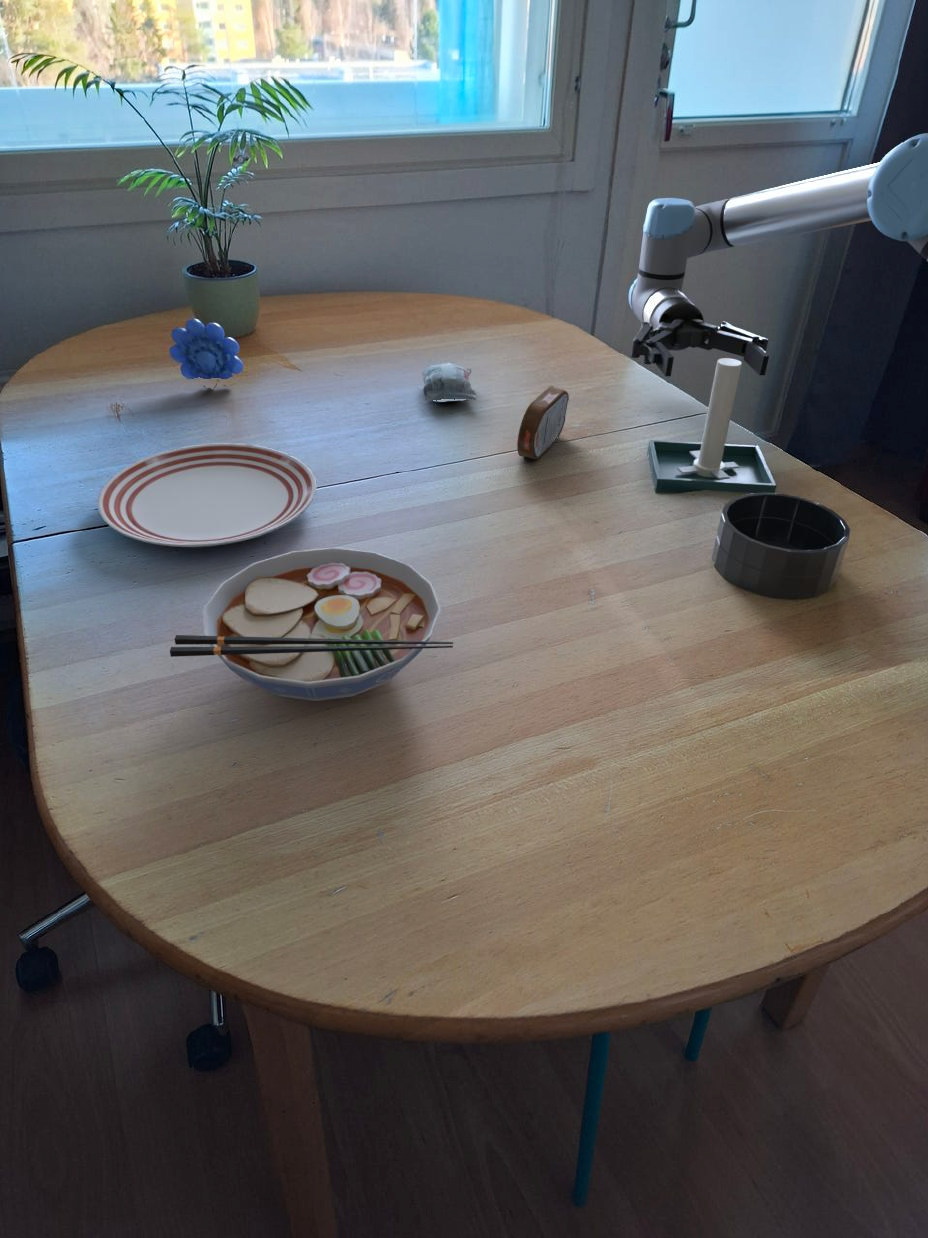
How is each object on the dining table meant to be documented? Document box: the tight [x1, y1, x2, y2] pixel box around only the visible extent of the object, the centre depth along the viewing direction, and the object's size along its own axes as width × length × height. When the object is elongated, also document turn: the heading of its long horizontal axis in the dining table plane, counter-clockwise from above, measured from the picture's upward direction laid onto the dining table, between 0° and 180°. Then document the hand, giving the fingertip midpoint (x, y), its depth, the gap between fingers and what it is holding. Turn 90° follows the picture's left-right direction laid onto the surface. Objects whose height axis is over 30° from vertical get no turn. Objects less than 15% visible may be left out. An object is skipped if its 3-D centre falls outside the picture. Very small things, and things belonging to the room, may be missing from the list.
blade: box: [678, 357, 743, 480], centre depth 122 cm, size 9×9×16 cm
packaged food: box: [422, 362, 478, 403], centre depth 148 cm, size 9×12×5 cm
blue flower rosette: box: [168, 317, 244, 380], centre depth 145 cm, size 12×7×12 cm, turn 102°
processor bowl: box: [711, 492, 851, 601], centre depth 103 cm, size 14×14×7 cm
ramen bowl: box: [169, 546, 454, 702], centre depth 86 cm, size 25×23×8 cm
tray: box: [647, 439, 778, 495], centre depth 126 cm, size 16×13×2 cm
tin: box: [516, 385, 570, 460], centre depth 130 cm, size 15×3×8 cm, turn 155°
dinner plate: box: [97, 442, 318, 548], centre depth 114 cm, size 27×27×3 cm
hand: (717, 366), depth 121 cm, fingers open, 13 cm apart
